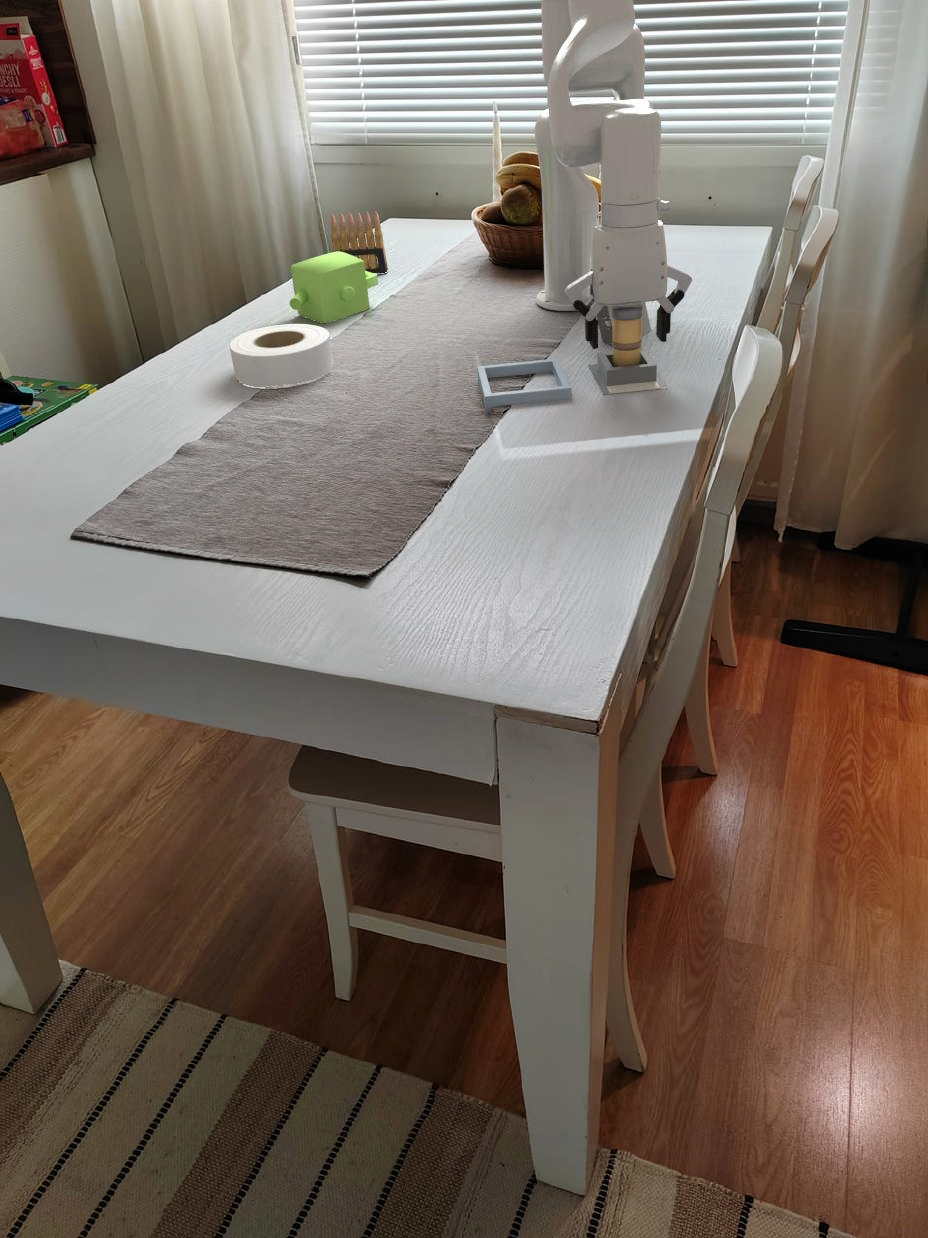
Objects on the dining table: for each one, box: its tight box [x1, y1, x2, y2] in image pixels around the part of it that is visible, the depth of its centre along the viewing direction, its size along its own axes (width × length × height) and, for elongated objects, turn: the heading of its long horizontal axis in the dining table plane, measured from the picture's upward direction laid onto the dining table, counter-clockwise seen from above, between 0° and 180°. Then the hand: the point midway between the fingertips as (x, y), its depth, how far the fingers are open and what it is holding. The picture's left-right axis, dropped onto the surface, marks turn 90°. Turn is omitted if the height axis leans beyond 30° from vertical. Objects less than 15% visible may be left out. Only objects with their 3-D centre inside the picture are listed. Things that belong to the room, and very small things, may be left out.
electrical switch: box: [596, 302, 652, 345], centre depth 154 cm, size 9×5×9 cm, turn 141°
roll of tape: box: [229, 323, 334, 387], centre depth 156 cm, size 16×16×6 cm
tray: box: [476, 357, 572, 414], centre depth 141 cm, size 12×12×2 cm
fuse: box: [611, 303, 643, 367], centre depth 139 cm, size 4×4×10 cm
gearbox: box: [289, 251, 379, 324], centre depth 178 cm, size 18×10×10 cm, turn 131°
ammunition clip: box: [330, 210, 389, 273], centre depth 199 cm, size 11×2×12 cm, turn 85°
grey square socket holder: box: [587, 348, 668, 396], centre depth 141 cm, size 12×9×4 cm
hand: (627, 342), depth 139 cm, fingers open, 9 cm apart
